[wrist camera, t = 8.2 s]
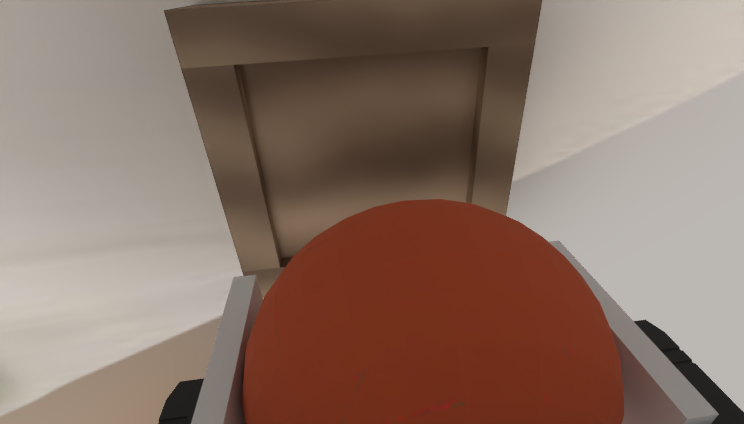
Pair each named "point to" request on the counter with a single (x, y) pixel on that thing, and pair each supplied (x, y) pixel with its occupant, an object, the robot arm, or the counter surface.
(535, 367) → the tomato
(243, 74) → the walnut box
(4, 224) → the counter surface
